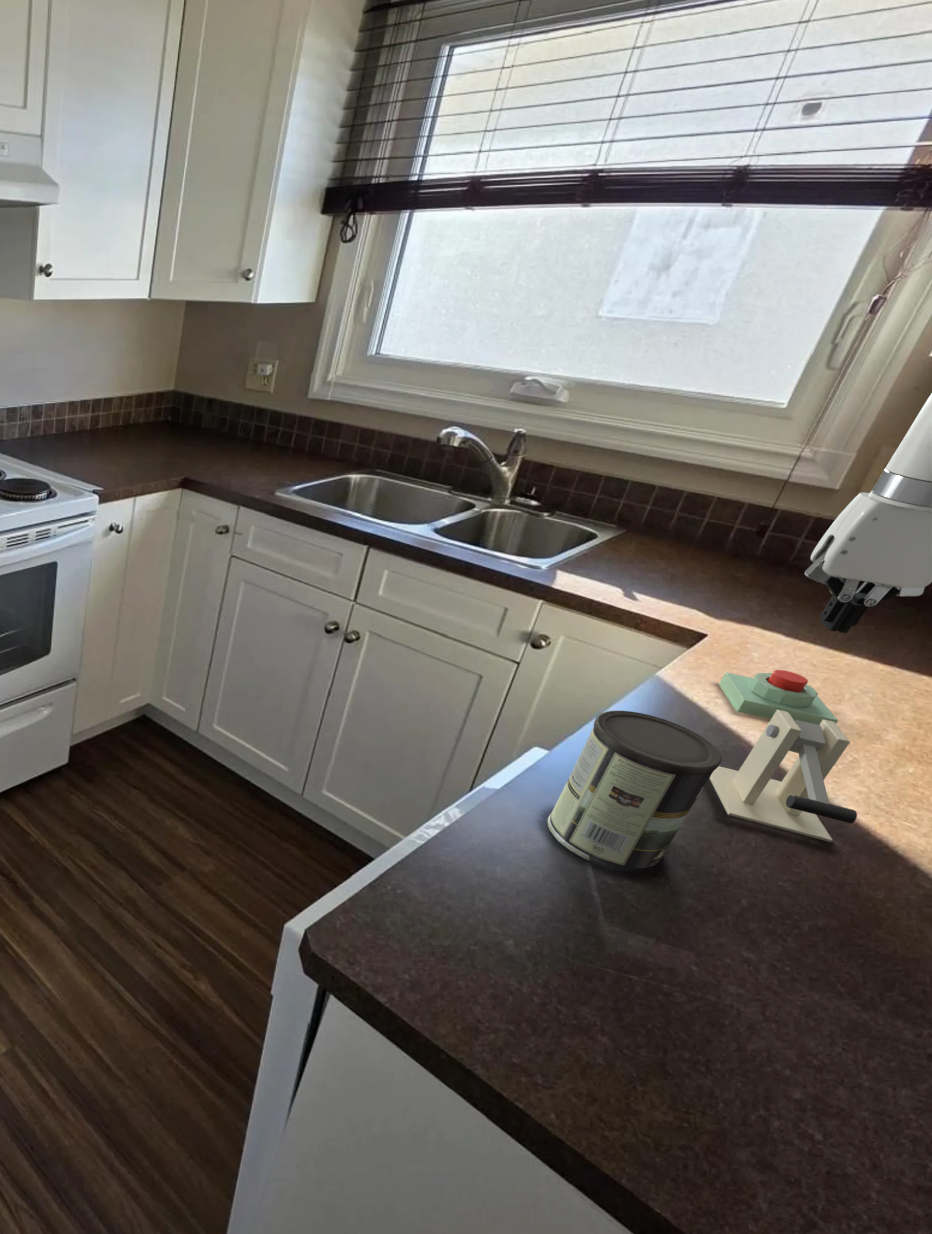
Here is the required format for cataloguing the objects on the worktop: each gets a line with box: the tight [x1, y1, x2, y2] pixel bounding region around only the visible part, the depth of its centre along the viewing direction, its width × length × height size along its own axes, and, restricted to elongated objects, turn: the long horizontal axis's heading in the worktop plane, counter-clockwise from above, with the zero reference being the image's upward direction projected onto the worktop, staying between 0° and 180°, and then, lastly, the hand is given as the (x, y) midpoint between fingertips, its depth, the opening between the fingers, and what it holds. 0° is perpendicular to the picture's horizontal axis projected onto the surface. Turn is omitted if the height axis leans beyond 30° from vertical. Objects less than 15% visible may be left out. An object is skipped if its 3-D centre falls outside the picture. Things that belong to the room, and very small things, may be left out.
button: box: [768, 669, 809, 692], centre depth 110 cm, size 4×4×2 cm
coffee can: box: [547, 710, 723, 869], centre depth 83 cm, size 10×10×14 cm
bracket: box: [709, 710, 851, 843], centre depth 89 cm, size 11×9×12 cm
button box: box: [718, 672, 839, 725], centre depth 111 cm, size 10×9×4 cm
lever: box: [786, 720, 858, 824], centre depth 85 cm, size 12×5×2 cm, turn 151°
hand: (833, 627), depth 100 cm, fingers closed
